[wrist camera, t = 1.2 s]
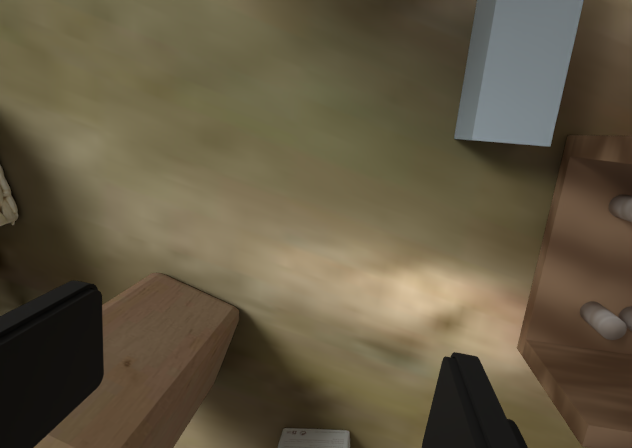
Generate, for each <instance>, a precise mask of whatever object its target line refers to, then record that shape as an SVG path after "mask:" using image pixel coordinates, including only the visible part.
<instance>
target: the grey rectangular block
mask: <svg viewBox="0 0 632 448" xmlns="http://www.w3.org/2000/svg"><path fill="white" fill-rule="evenodd" d="M583 1H584V0H477V3H476V9H475V15H474V21H473V27H472V33H471V39H470V46H469V52H468V58H467V64H466V70H465V76H464V82H463V88H462V94H461V100H460V106H459V112H458V118H457V124H456V130H455V136H454V139H464V140H476V141H488V142H500V143H512V144H524V145H537V146H549V147H550V146H551V141H552V137H553V132H554V128H555V124H556V119H557V115H558V111H559V106H560V102H561V97H562V93H563V89H564V84H565V80H566V76H567V71H568V67H569V62H570V58H571V54H572V49H573V45H574V41H575V36H576V32H577V27H578V23H579V19H580V14H581V10H582V6H583Z"/></svg>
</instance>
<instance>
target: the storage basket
mask: <svg viewBox="0 0 632 448" xmlns="http://www.w3.org/2000/svg"><path fill="white" fill-rule="evenodd" d="M17 219H18V209H17V206H16V203H15V201H14V199H13V197H12V196H11V190H10V187H9V185H8V183H7V181H6V179H5V177H4V172H3V169H2V167H1V165H0V226H3V225H4V224H8V223H11V225H14V223H15V221H16V220H17Z"/></svg>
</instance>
